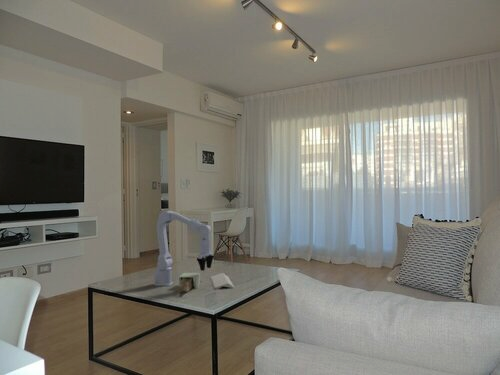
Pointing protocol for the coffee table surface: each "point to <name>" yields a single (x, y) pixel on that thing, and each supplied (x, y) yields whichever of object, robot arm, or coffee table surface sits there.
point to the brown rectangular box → (186, 284)
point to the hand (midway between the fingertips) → (205, 269)
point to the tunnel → (191, 275)
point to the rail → (181, 294)
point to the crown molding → (221, 281)
